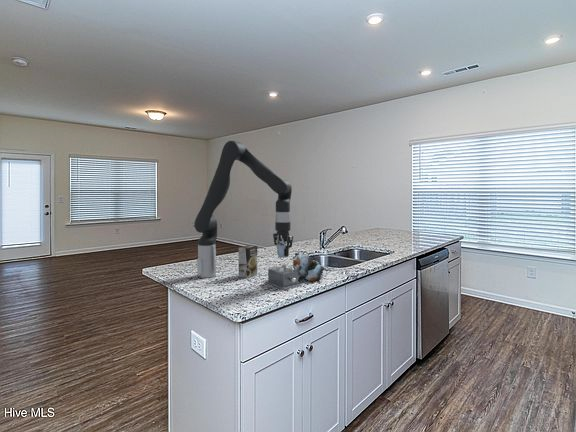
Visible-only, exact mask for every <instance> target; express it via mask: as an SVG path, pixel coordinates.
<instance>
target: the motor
mask: <svg viewBox="0 0 576 432" xmlns="http://www.w3.org/2000/svg"><path fill="white" fill-rule="evenodd" d="M267 274H268V275H267V277H268V279H267V280H265V283H266V284H268V285H271V286H273V287H276V288H278V289H281V290H282V291H285V290H287V289H292V288H296V287H301V286H302V283H301V282H299V276H298V271H295V270H294V269H293V265H289V267H287V264H286V263H282V264H281V266H278V265H273V267H271V268H268V270H267Z"/></svg>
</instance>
